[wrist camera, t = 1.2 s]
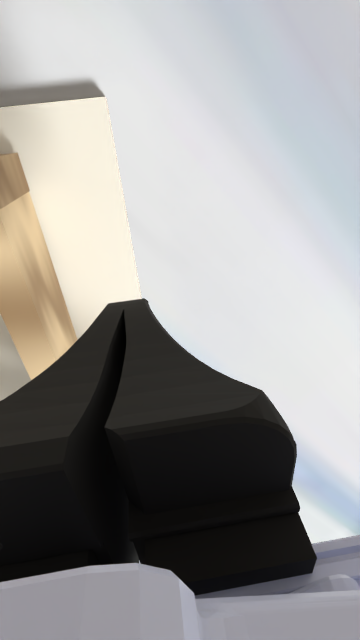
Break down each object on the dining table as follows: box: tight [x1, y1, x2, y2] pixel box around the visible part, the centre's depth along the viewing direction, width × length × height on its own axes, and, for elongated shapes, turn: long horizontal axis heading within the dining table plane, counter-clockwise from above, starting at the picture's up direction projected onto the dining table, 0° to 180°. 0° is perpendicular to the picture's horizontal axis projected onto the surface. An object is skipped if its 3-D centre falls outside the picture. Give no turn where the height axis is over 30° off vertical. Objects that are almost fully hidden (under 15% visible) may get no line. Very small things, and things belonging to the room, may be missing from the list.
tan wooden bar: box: [0, 152, 77, 380], centre depth 15 cm, size 11×2×4 cm, turn 5°
